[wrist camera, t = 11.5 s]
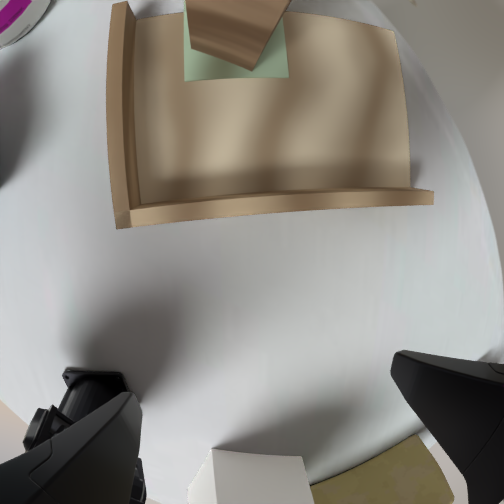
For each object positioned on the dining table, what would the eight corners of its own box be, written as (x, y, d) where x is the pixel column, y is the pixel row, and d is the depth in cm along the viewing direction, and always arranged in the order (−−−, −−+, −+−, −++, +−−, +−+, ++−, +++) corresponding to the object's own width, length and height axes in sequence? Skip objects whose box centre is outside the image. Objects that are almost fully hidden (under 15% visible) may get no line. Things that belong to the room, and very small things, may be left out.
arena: (130, 219, 19) (116, 229, 16) (125, 14, 14) (113, -7, 11) (407, 198, 22) (433, 204, 18) (389, 23, 17) (410, 10, 14)
